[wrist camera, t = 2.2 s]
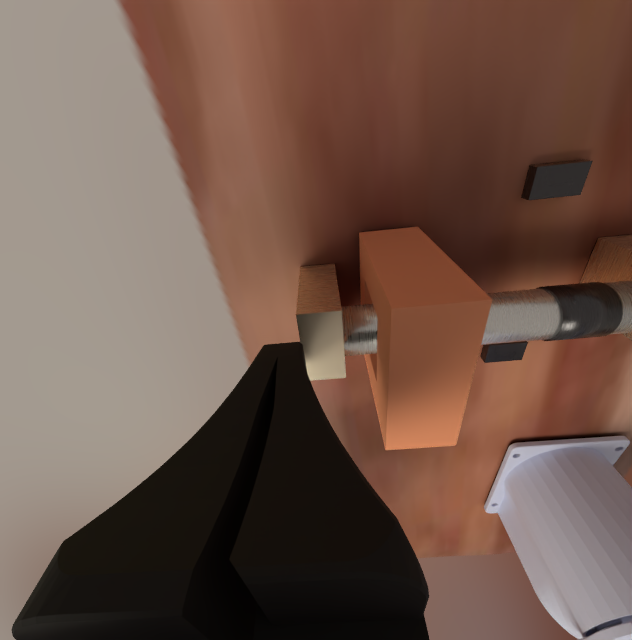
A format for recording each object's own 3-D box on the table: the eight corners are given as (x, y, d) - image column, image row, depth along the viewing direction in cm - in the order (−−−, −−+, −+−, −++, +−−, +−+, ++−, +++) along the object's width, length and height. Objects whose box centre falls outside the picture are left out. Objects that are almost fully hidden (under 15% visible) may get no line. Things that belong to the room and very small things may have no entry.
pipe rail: (677, 149, 12) (840, 160, 8) (580, 348, 17) (652, 409, 13) (290, 191, 12) (280, 219, 9) (314, 370, 18) (315, 432, 14)
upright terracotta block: (417, 226, 13) (492, 299, 7) (408, 338, 16) (455, 445, 11) (359, 232, 13) (391, 308, 8) (361, 342, 16) (385, 450, 11)
